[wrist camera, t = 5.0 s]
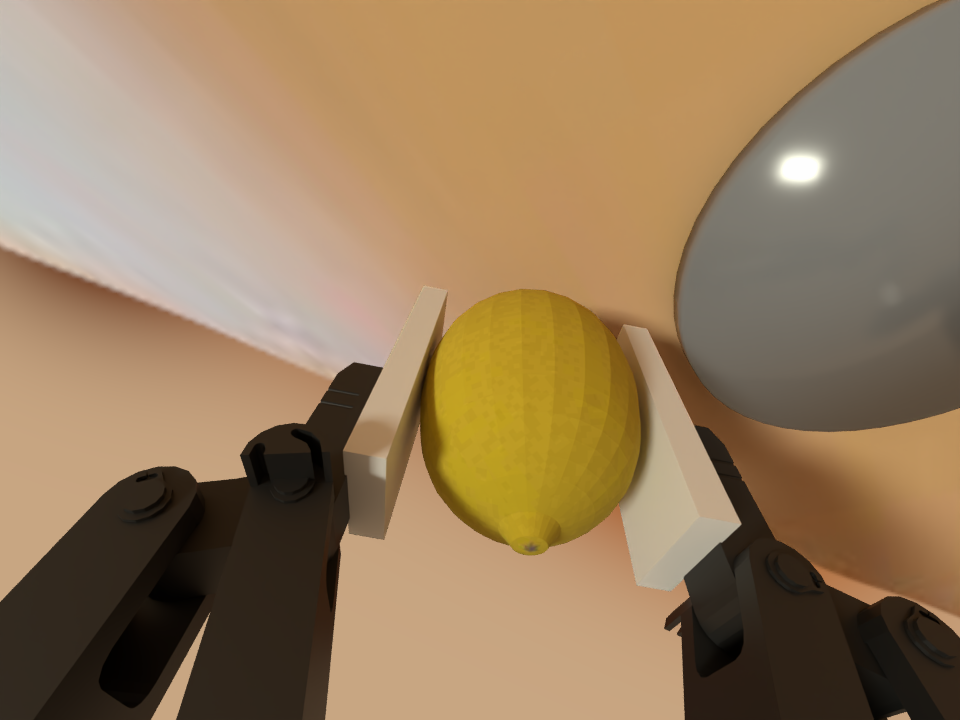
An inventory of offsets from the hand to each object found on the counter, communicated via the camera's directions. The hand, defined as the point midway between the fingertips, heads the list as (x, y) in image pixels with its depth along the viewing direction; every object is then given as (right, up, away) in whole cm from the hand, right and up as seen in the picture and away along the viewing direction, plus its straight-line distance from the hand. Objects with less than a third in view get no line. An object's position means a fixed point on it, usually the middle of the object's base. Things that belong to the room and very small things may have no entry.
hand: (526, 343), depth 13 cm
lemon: (0, +1, +1) cm, 1 cm away
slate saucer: (+12, +3, 0) cm, 13 cm away
